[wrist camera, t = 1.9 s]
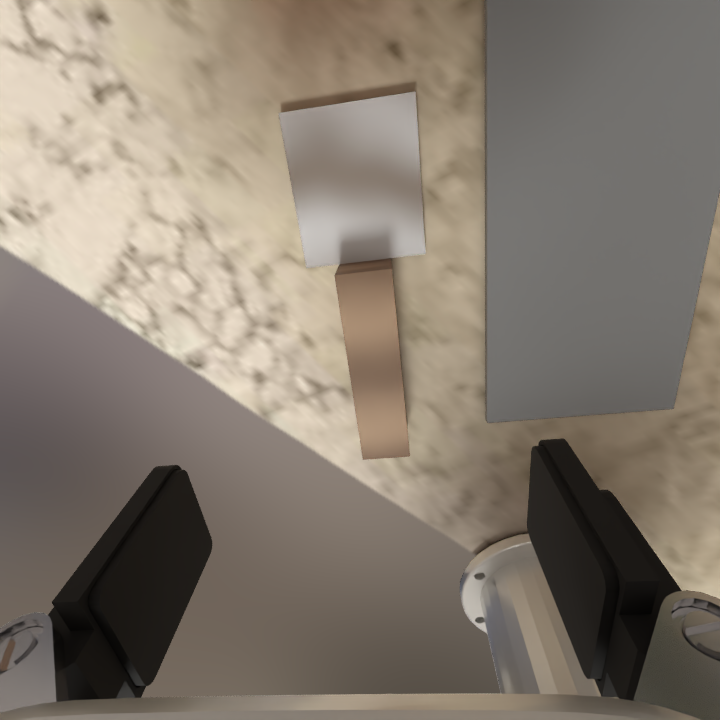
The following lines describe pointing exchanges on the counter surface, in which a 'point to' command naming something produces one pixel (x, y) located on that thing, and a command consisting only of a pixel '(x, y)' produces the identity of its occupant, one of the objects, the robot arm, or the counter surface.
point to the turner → (362, 238)
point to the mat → (596, 200)
